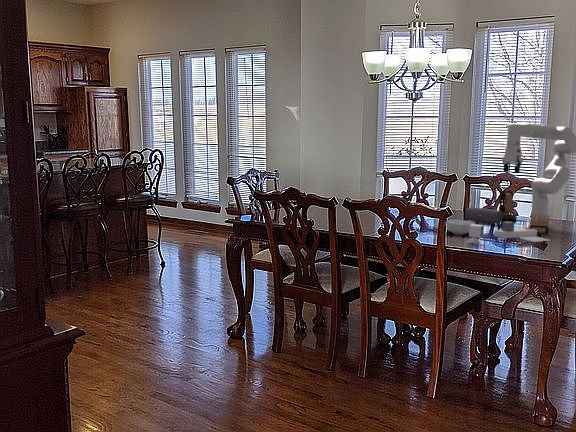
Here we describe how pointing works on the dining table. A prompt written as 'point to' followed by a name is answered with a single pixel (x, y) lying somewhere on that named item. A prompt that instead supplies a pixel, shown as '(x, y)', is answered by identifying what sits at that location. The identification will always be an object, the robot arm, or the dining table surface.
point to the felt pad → (534, 239)
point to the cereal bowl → (459, 226)
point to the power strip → (516, 233)
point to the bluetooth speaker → (484, 215)
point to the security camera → (475, 233)
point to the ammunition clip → (540, 224)
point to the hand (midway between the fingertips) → (511, 172)
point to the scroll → (507, 205)
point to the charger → (507, 226)
